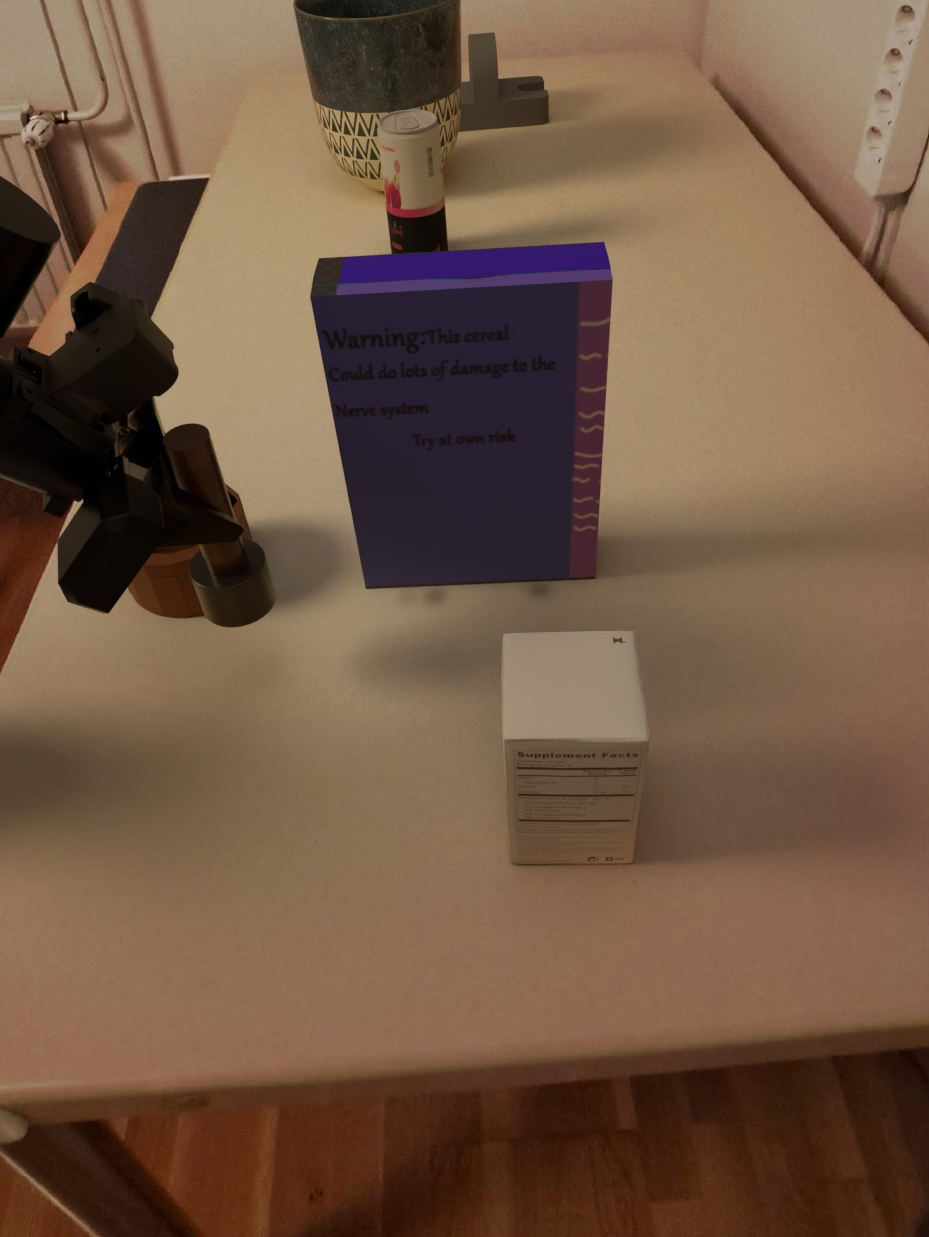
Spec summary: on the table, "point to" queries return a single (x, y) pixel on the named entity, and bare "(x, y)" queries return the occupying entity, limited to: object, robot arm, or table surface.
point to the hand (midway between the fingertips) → (236, 519)
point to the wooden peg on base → (220, 571)
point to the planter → (380, 72)
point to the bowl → (174, 577)
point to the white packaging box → (573, 745)
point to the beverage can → (413, 181)
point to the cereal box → (469, 409)
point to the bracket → (498, 92)
